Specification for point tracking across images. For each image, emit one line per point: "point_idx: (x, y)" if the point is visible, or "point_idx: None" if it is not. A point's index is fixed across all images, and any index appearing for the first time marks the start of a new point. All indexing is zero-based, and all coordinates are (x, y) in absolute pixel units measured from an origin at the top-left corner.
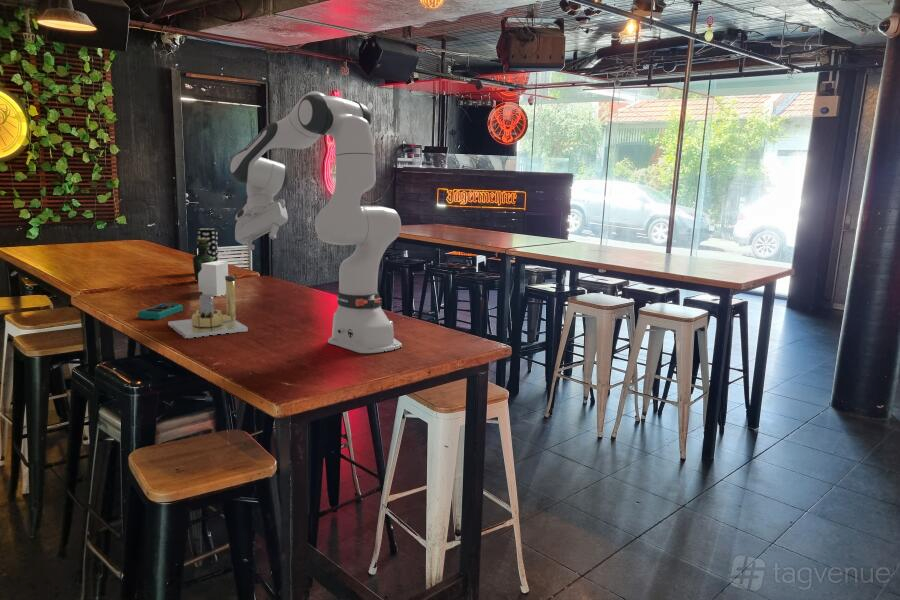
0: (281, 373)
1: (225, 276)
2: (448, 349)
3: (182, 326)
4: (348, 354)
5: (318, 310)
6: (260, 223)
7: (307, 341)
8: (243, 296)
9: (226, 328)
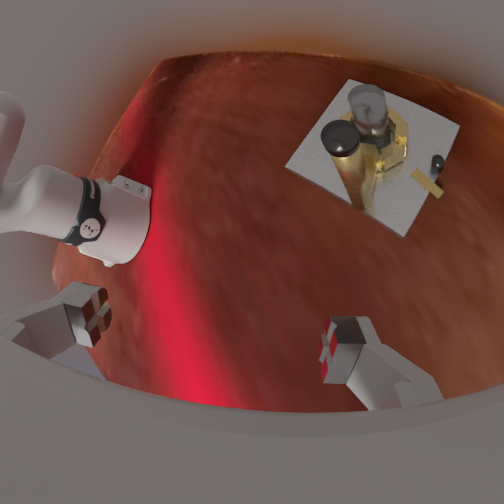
0: (172, 86)
1: (351, 123)
2: None
3: (403, 109)
4: (130, 166)
5: None
6: (59, 437)
7: (175, 179)
8: None
9: (317, 138)
